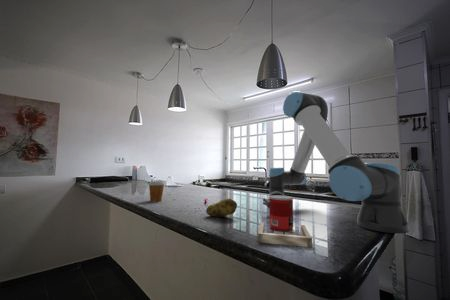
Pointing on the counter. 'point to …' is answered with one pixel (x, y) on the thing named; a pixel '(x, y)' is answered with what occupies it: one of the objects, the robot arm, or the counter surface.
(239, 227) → the counter surface
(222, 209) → the potato
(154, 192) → the disposable coffee cup
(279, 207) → the canned food
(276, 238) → the shallow beige tray
